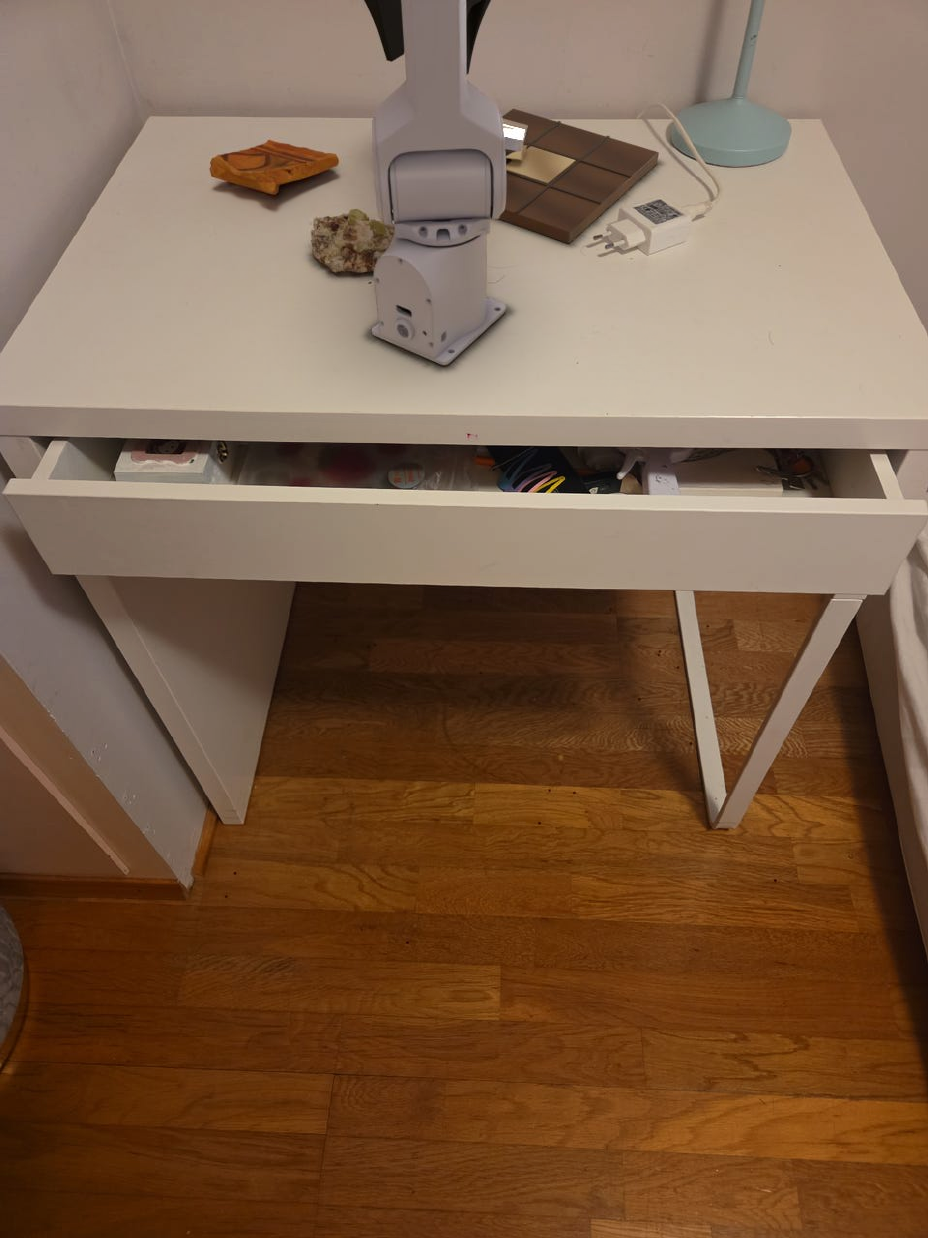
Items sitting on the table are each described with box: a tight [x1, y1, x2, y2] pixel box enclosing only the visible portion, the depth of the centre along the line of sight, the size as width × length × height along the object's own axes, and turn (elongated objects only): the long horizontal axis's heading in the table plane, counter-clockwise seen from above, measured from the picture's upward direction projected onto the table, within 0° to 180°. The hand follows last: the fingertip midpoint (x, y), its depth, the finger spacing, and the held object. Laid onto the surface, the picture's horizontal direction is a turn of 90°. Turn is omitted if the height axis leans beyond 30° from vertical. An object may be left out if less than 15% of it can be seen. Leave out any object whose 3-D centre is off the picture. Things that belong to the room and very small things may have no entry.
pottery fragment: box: [208, 139, 340, 196], centre depth 90 cm, size 10×5×10 cm
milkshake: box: [502, 118, 529, 161], centre depth 89 cm, size 4×5×10 cm
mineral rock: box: [310, 208, 395, 274], centre depth 82 cm, size 11×4×8 cm
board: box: [497, 108, 660, 244], centre depth 91 cm, size 18×18×1 cm
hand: (427, 66), depth 84 cm, fingers open, 7 cm apart
